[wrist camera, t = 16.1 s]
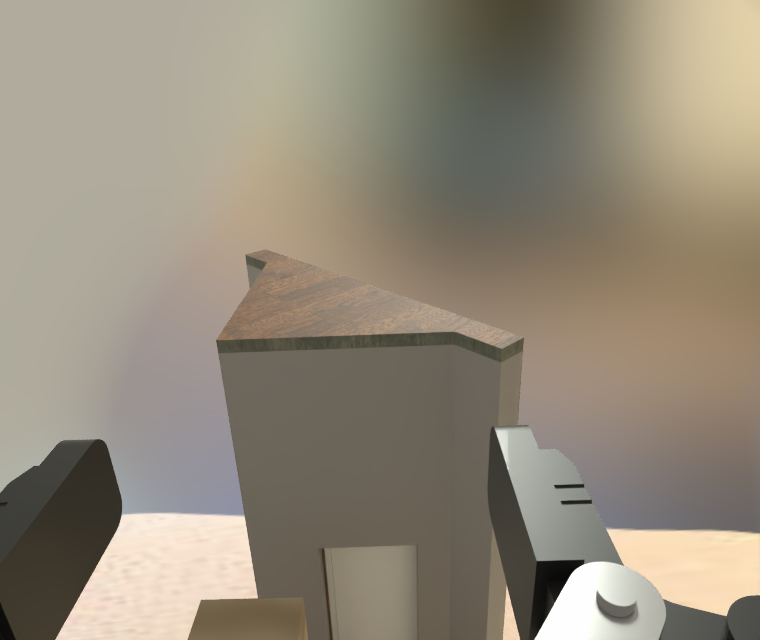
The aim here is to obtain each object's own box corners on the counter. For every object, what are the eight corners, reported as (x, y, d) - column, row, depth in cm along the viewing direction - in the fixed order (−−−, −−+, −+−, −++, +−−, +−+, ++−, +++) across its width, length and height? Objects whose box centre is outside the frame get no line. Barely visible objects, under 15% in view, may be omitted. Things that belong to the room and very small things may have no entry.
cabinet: (495, 738, 37) (523, 337, 26) (384, 872, 31) (358, 425, 20) (301, 557, 51) (265, 249, 40) (200, 624, 45) (125, 285, 34)
